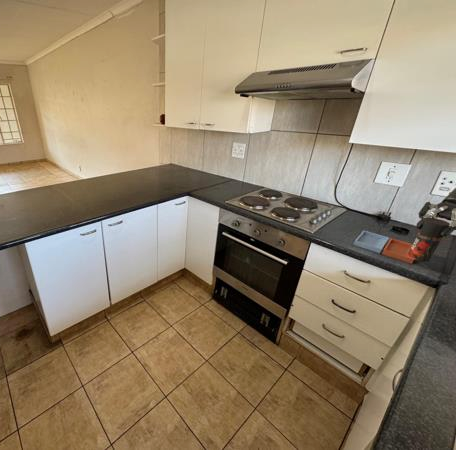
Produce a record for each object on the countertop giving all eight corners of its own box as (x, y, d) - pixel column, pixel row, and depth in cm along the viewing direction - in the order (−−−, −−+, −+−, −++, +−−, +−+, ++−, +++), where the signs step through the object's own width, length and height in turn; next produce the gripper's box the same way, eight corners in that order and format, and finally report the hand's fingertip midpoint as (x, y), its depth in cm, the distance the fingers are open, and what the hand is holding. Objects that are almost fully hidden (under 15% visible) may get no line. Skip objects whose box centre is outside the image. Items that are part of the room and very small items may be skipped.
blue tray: (387, 241, 115) (389, 237, 114) (379, 253, 107) (381, 249, 106) (362, 234, 122) (363, 230, 121) (353, 244, 113) (354, 240, 112)
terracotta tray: (417, 250, 108) (419, 246, 107) (411, 263, 100) (414, 259, 99) (389, 241, 115) (390, 238, 114) (381, 253, 106) (383, 249, 105)
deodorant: (434, 261, 90) (455, 225, 84) (417, 261, 90) (437, 225, 84) (418, 252, 96) (437, 217, 89) (403, 253, 96) (421, 218, 89)
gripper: (438, 183, 90) (403, 218, 91) (498, 196, 78) (457, 235, 79) (439, 195, 94) (406, 228, 95) (497, 209, 82) (457, 246, 83)
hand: (429, 231), depth 87 cm, fingers closed on deodorant, 6 cm apart
